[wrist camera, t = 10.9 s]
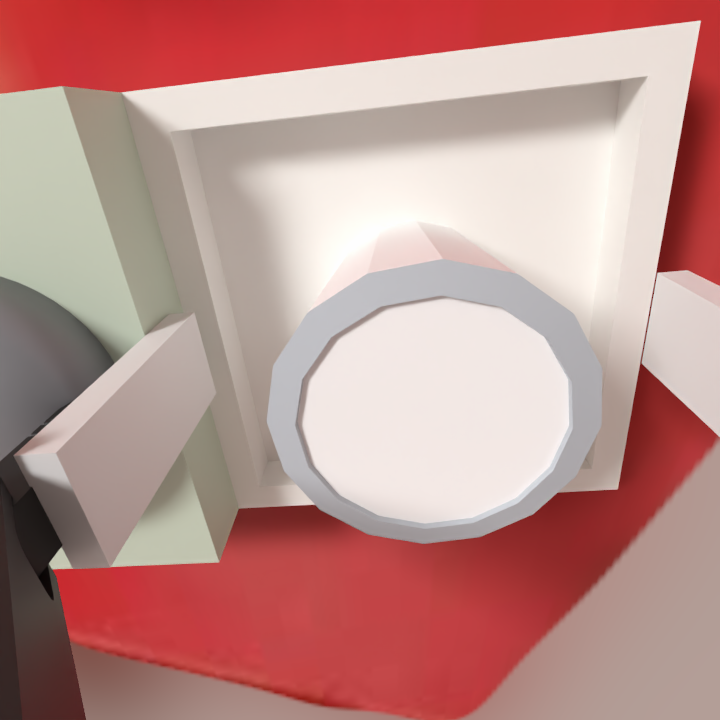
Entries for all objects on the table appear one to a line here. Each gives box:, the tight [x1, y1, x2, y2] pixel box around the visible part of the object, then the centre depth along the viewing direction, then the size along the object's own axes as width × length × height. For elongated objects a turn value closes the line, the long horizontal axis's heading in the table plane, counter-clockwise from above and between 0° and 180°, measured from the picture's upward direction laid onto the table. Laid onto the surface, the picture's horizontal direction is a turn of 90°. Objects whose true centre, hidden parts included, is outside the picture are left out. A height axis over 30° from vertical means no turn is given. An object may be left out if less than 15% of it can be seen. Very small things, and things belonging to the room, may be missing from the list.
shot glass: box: [267, 221, 602, 544], centre depth 13 cm, size 7×7×7 cm
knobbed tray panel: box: [0, 21, 701, 569], centre depth 14 cm, size 14×23×7 cm, turn 96°
